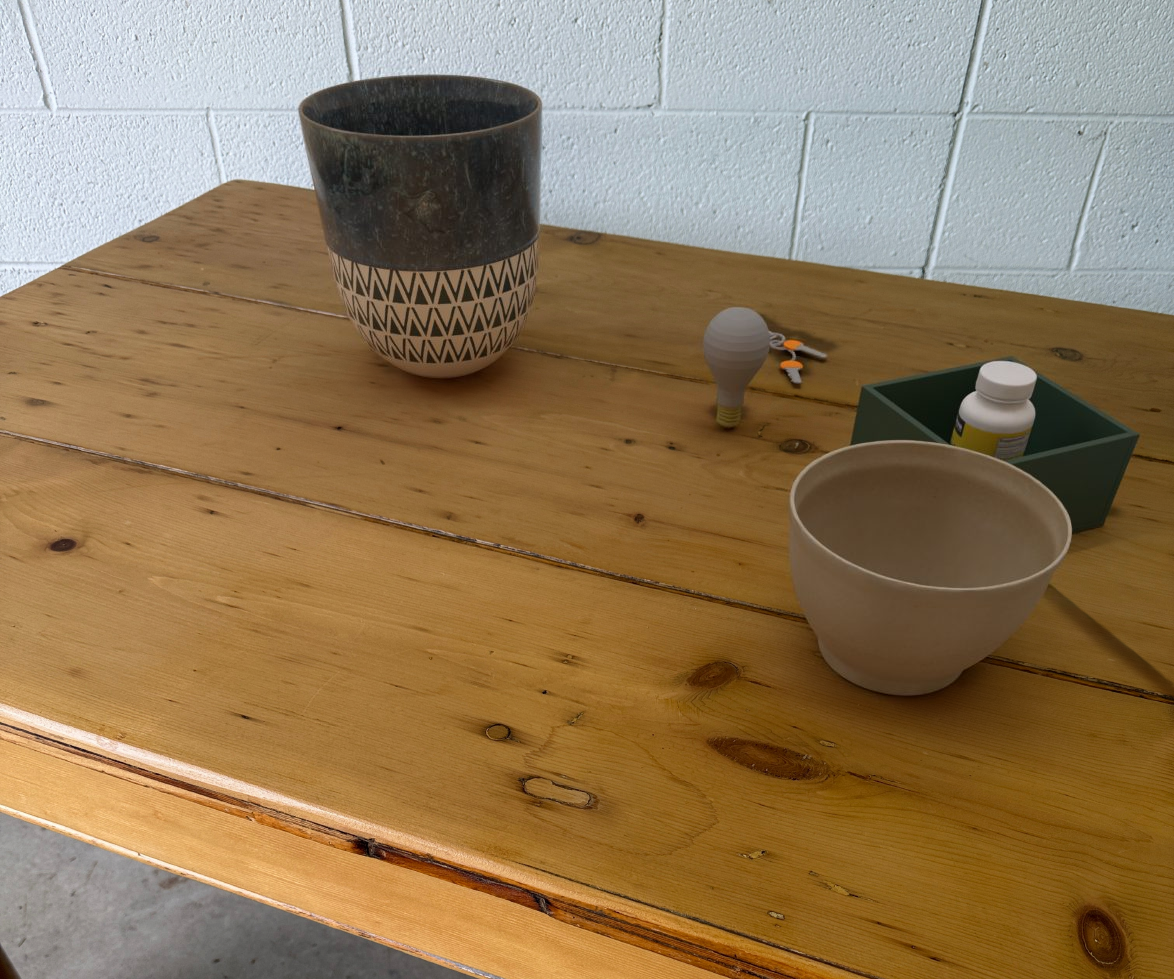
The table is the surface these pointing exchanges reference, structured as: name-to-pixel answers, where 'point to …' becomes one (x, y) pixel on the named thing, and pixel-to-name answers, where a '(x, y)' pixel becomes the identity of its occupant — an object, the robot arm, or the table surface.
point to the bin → (1054, 448)
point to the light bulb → (734, 357)
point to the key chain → (791, 346)
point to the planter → (430, 213)
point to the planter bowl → (919, 558)
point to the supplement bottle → (997, 411)
